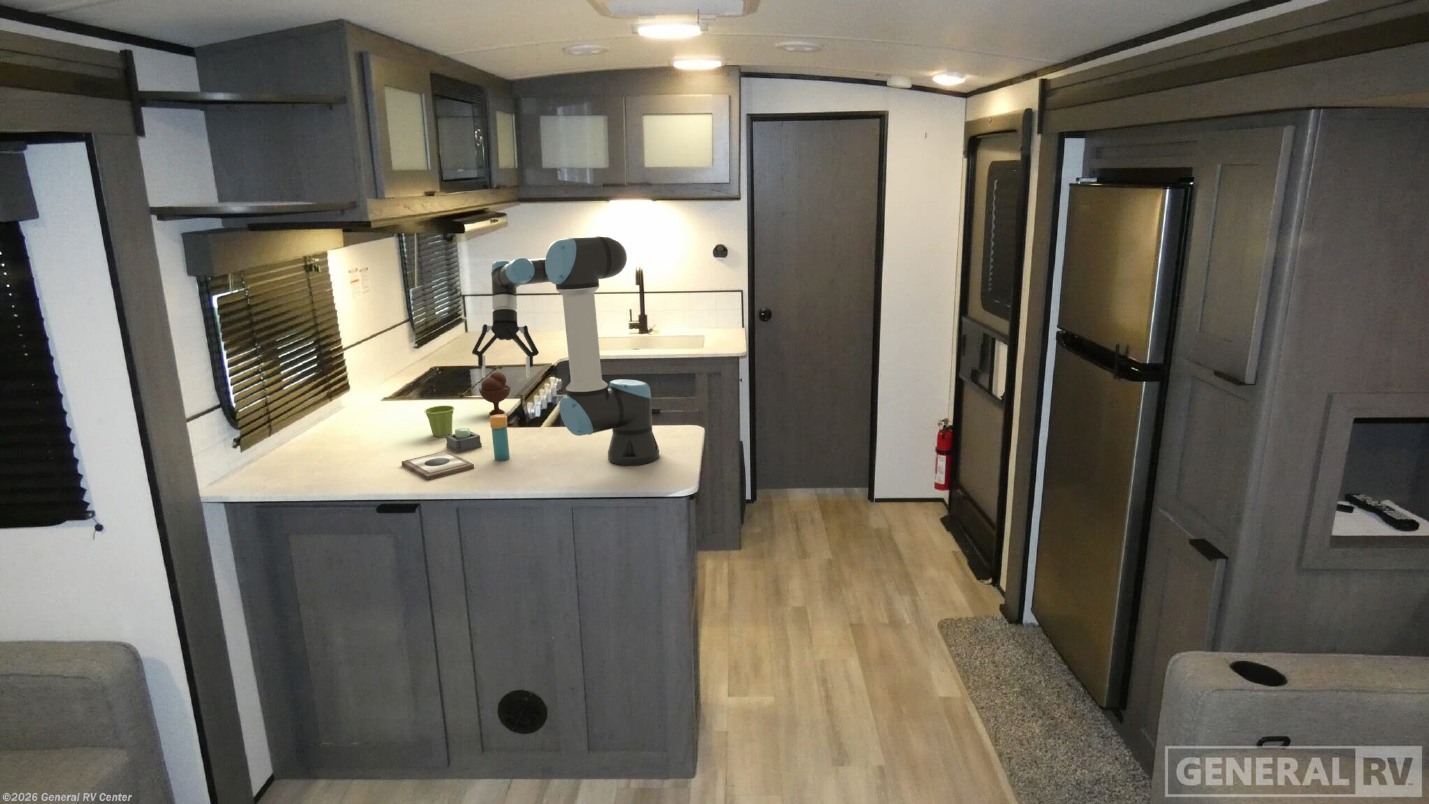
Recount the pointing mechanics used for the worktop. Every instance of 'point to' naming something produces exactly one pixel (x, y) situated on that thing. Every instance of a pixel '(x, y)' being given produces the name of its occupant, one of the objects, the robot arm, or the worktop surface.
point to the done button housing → (463, 442)
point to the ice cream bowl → (495, 391)
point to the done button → (462, 433)
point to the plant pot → (440, 420)
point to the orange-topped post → (500, 437)
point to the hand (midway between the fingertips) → (506, 377)
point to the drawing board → (437, 465)
